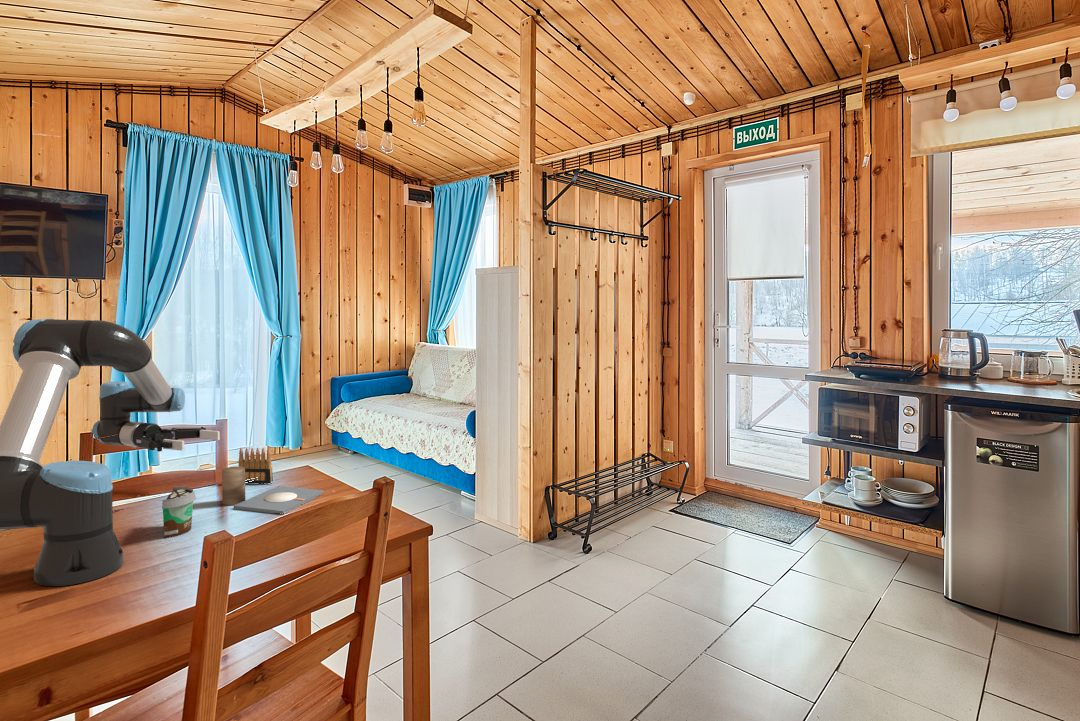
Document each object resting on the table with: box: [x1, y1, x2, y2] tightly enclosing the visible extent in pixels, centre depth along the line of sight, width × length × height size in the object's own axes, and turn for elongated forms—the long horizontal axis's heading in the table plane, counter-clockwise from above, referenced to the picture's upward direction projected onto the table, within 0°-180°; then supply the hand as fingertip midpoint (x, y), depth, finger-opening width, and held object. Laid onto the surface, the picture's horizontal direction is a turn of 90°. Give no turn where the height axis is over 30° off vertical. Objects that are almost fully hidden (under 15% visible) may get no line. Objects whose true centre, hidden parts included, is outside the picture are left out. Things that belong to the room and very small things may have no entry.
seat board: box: [233, 485, 325, 515], centre depth 172 cm, size 20×16×1 cm
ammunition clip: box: [238, 447, 274, 485], centre depth 188 cm, size 11×2×12 cm, turn 93°
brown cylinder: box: [221, 466, 246, 507], centre depth 170 cm, size 6×6×10 cm
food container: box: [161, 486, 197, 539], centre depth 147 cm, size 12×6×10 cm, turn 22°
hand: (201, 440), depth 171 cm, fingers open, 13 cm apart
